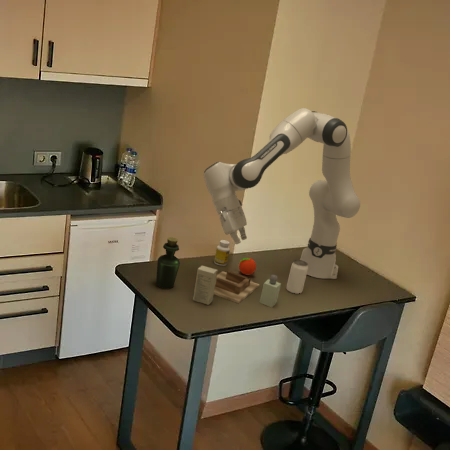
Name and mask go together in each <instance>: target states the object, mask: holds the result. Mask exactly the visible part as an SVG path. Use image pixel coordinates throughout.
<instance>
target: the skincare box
mask: <svg viewBox="0 0 450 450" xmlns="http://www.w3.org/2000/svg"><path fill="white" fill-rule="evenodd" d="M217 275H218V269H216V268H212V267H209V266H206V265H200V266H199V267H198V268H197V271H196V277H195V284H194V291H193V294H192V296H193V297H192V301H195V302H197V303H201V304H204V305H207V306H208V305H210V304H211V303H212V302H213V299H214V295H215V294H214V288H215V283H216V277H217Z"/></svg>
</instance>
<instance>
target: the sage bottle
mask: <svg viewBox="0 0 450 450" xmlns="http://www.w3.org/2000/svg"><path fill="white" fill-rule="evenodd" d="M277 280H278V275H276V274H272V273H271V274H270V277H269V278H268V279H267V280H266V281H265V282H264V283H263V285H262V291H261V294H260V298H259V304H261V305H265V306H267V307H269V308H273V307H274V306H275V305H276V304H277V302H278V298H279V294H280V290H281V284H282V283H281V282H278V281H277Z"/></svg>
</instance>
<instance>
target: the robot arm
mask: <svg viewBox="0 0 450 450" xmlns="http://www.w3.org/2000/svg"><path fill="white" fill-rule="evenodd" d="M306 139H310V140H311V141H313V142H316V143H321V144H323V146H322V147H323V149H322V159H321V164H322V166H321V171H322V175H323V177H324V178H325V180H321V179H319V180H316V181H314V182H313V183H312V184H311V186H310V188H309V190H308V191H309V192H308V193H309V194H308V195H309V198H310V200H311V203H312V207H313V215H314V217H313V225H312V231H311V235H310V237H309V239H308V242H307V247H304V248H303V250H302V252H301V255H300V258H299V260H302V261H305V262H307V263H308V265H307V266H308V271H307V275H308V276H311V277H312V278H317V279H331V280H336V279H337V278H338V271H339V265H337V264H336V262H337V261H336V258H337V254H336V252H337V247H338V246H337V244H338V238H339V234H340V230H341V225H340V224H339V222H338V219H337V216H338V217H341V218H346V219H350V218H353V217H355V216H356V215H357V214H358V213H359V211H360V209H361V200H360V198H359V196H357V194H356V191H355V189H354V186H353V182H352V177H351V153H352V146H351V145H352V144H351V136H350V132H349V130H348V127H347V124H346V123H345V121H343V120H341V119H340V118H338V117H334V116H332V115H329V114H328V113H323V112H318V111H315V110H311V109H309V108H305V107H302V108H299V109H297V110H295V111H294V112H292V113H290V114H289V115H288V116H286V117H285V118H284V119H283V120H282V121H280V122H279V123H278V124H277V125H276V126H275V127H274V129H273V130H272V131H271V133H270V134H269V141H268V142H267V143H266V144H265V145H264V146H263V147H262V148H261V149H260V150H259V151H258V152H256V153H255V154H254V155H253V156H251V157H249V158H248V157H247V158H245V159H242V160H240V161H239V162H237V163H225V162H221V161H217V162H214V163H213V164H211V165H210V166H208V167H206V169H205V170H203V171H204V172H203V178H204V183H205V185H206V188H207V191H208V193H209V195H210V196H211V198H212V204H213V205H214V208H215V212H216V213H217V215H218V216H219V220H220V224H221V227H222V230H223V232H224V233H225V235H230V237H231V238H232V240H233V242H234V243H235V245H239V244H241V242H242V241H244V240H247V238H248V237H247V232H246V229H245V226H247V223H248V222H247V218H246V215H245V212H244V209H243V207H242V206H243V204H242V203H243V202H242V201H241V200H240V199H239V198H238V196H237V194H236V192H239V191H245V190H248V189H251V188H252V189H253V188H254V187H256V186H257V185H258V184H259V183H260V182H261V179H262V177H263V175H264V173H265V171H266V169H268V168H269V167H270V166H271V165H272V164H273V163H274V162H275V161H277V160H278V159H279V158H280V156H283V155H287V154H288V153H290V152H292V151H294V150H295V149H296V148H298V147H299V146H300V145H302V143H304V142H305V140H306ZM237 231H238V232H239V234H240V237H239V235H238V232H237ZM241 240H242V241H241ZM307 275H306V276H307Z"/></svg>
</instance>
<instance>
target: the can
mask: <svg viewBox="0 0 450 450" xmlns="http://www.w3.org/2000/svg"><path fill="white" fill-rule="evenodd" d="M307 265H308V263H307V262H305V261H302V260H300V259H294V260H293V262H292V263H291V267H290V270H289V275H288V277H287V278H288V279H287V283H286V287H285V288H286V290H287V291H288V292H289V293H291V294H294V293H295V295H300V294H302V293H303V290H304V287H305V282H306V278H307V271H308V266H307ZM299 293H300V294H299Z"/></svg>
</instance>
